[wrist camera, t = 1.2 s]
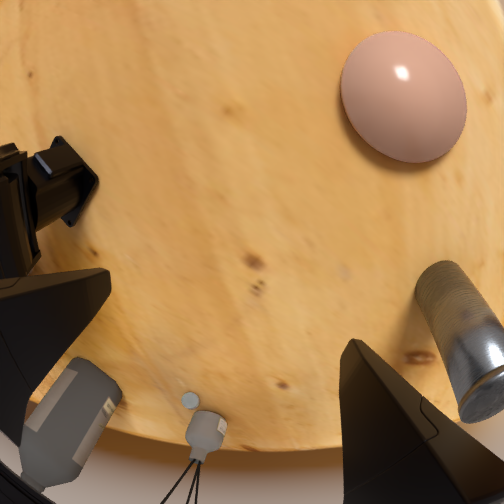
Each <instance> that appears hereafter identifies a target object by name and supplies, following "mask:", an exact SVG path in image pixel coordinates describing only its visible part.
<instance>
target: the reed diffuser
mask: <svg viewBox="0 0 504 504" xmlns="http://www.w3.org/2000/svg"><path fill="white" fill-rule="evenodd" d="M181 401H182V404H183V406H184V407H186V408H188V409H195V408H197V407H198V406H199V403H200V399H199V397H198V396H197V395H196V394H194V393H192V392H188V393H185V394H184V395H183V397H182V400H181ZM227 425H228V424H227V422H226V420H225V419H224V418H223V417H221V416H220V415H218V414H216V413H213V412H209V411H197V412H195V413H194V415H193V417H192V419H191V421H190V424H189V426H188V428H187V431H186V435H185V438H186V440H187V442H188V443H189V445H190V446H191V447H192V451H191V454H190V457H189V460H190V461H191V463H190V464H189V466H188V467H187V469H186V470H185V471H184V473H183V474H182V476H181V477H180V479H179V480H178V481H177V482H176V484H175V485H174V487H173V488H172V489H171V490H170V492H169V493H168V494H167V496H166V497H165V498H164V499H163V501H162V502H161V503H160V504H164V503H165V502H166V500H167V499H168V498H169V496H170V495H171V493H172V492H173V491H174V489H175V488H176V487H177V485H178V484H179V482H180V481H181V479H182V478H183V477H184V475H185V474H186V473H187V471H188V470H189V469H190V467H191V466H192V464H193V463H196V464H198V465H197V469H196V472H195V475H194V479H193V482H192V485H191V488H190V492H189V495H188V499H187V502H186V504H188V503H189V500H190V497H191V493H192V490H193V487H194V483H195V480H196V476H197V483H196V494H195V504H197V496H198V485H199V475H200V464H203V463H204V461H205V458H206V455H207V453H208V452H212V451H215V450H218V449H219V448H220V447H221V444H222V442H223V438H224V437H225V433H226V429H227Z"/></svg>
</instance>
